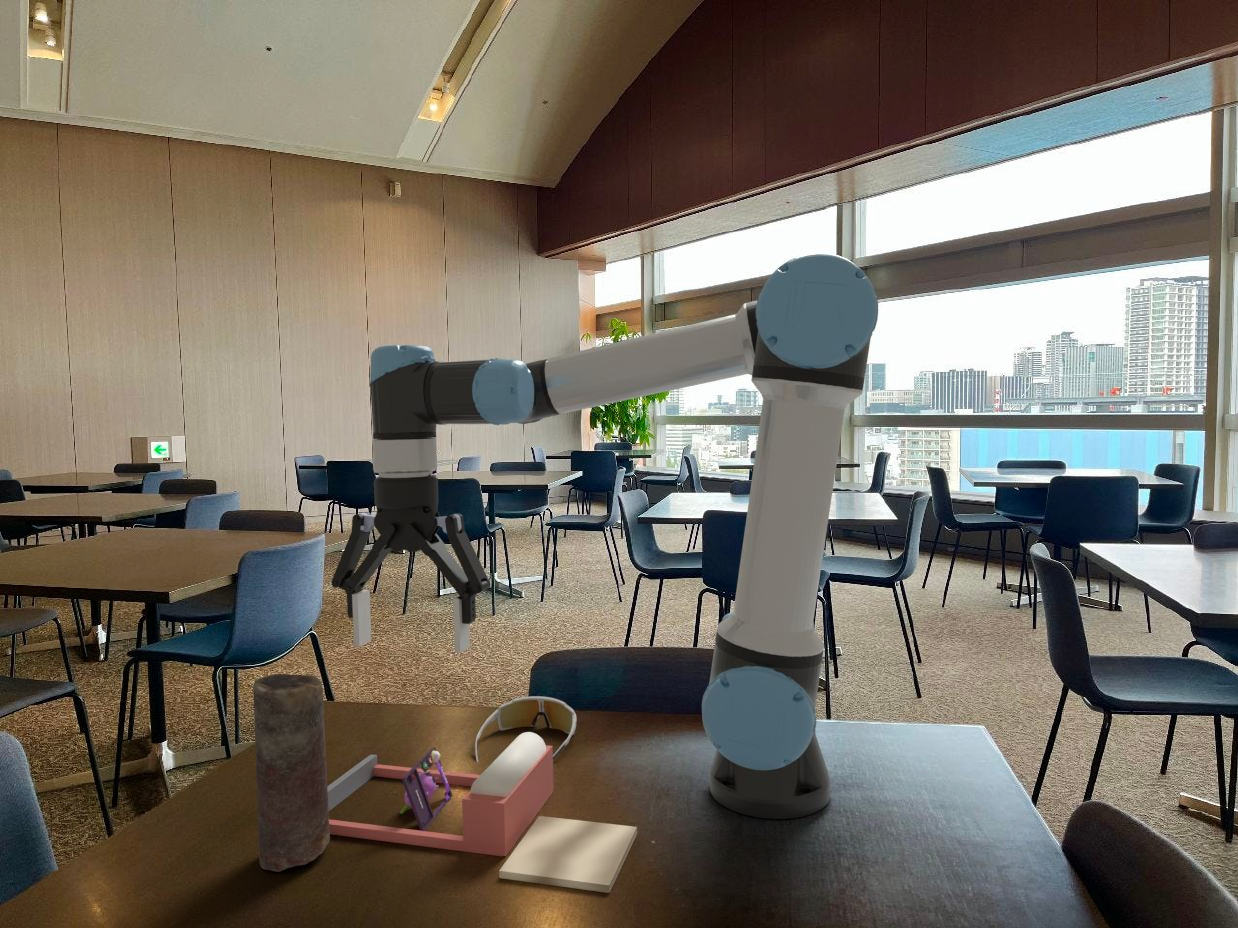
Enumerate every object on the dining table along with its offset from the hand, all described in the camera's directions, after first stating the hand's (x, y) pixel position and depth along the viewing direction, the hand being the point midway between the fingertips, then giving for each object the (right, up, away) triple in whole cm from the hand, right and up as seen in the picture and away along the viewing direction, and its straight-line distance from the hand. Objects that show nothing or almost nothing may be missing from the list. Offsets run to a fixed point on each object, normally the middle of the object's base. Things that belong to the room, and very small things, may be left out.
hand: (411, 646), depth 100 cm
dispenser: (+2, -20, +1) cm, 20 cm away
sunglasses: (+12, -20, +21) cm, 31 cm away
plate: (+20, -21, -10) cm, 31 cm away
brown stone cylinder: (-11, -21, -9) cm, 26 cm away
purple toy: (+1, -21, 0) cm, 21 cm away
